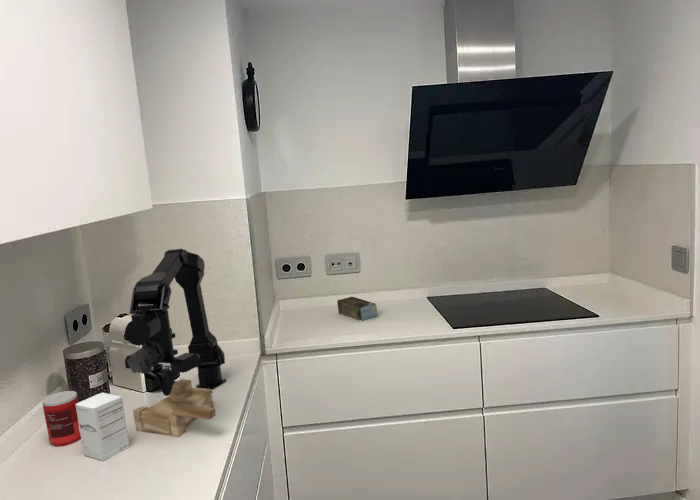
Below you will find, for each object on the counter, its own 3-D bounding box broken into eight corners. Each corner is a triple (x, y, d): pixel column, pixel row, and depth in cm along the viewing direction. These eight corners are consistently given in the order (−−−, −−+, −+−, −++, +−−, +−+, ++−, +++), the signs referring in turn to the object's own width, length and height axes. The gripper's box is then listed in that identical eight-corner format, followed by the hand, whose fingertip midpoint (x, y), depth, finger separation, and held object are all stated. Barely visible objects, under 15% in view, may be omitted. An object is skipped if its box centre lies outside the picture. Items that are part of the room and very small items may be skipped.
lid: (186, 390, 150) (183, 372, 150) (212, 393, 146) (210, 375, 146) (141, 415, 136) (138, 396, 135) (169, 419, 132) (166, 399, 131)
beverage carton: (361, 322, 217) (359, 305, 217) (337, 314, 234) (336, 299, 233) (378, 317, 221) (376, 301, 220) (353, 310, 238) (352, 295, 237)
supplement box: (82, 456, 127) (73, 403, 125) (111, 441, 133) (103, 391, 131) (102, 462, 123) (93, 408, 121) (131, 446, 129) (122, 395, 127)
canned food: (75, 429, 142) (68, 388, 140) (90, 436, 137) (83, 394, 135) (44, 442, 136) (36, 399, 134) (58, 450, 131) (50, 405, 129)
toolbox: (180, 404, 151) (178, 386, 151) (220, 408, 146) (218, 389, 145) (136, 430, 137) (132, 410, 136) (178, 437, 131) (175, 416, 131)
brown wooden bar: (179, 411, 133) (178, 404, 133) (215, 415, 129) (214, 408, 128) (173, 414, 132) (172, 407, 131) (210, 419, 127) (209, 411, 127)
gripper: (101, 341, 127) (112, 405, 129) (163, 344, 119) (173, 413, 121) (138, 327, 137) (147, 387, 139) (197, 329, 129) (206, 393, 131)
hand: (167, 395), depth 133 cm, fingers closed
